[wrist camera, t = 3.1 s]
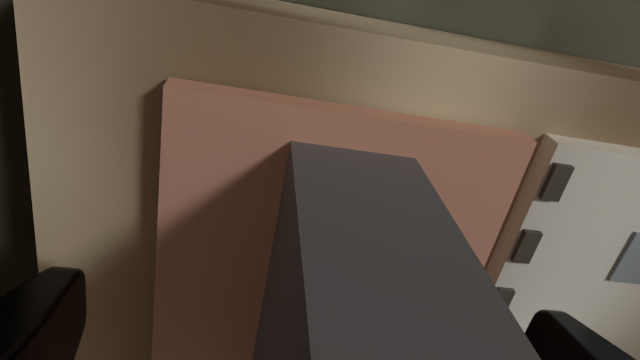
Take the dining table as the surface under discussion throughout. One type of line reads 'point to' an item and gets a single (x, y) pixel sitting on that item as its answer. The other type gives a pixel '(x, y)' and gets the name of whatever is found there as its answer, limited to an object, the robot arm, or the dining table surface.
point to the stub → (329, 231)
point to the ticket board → (332, 86)
